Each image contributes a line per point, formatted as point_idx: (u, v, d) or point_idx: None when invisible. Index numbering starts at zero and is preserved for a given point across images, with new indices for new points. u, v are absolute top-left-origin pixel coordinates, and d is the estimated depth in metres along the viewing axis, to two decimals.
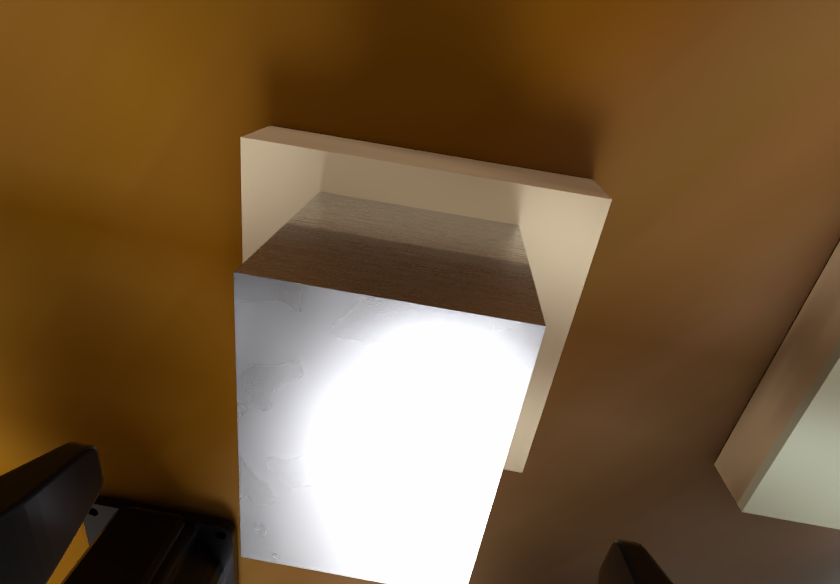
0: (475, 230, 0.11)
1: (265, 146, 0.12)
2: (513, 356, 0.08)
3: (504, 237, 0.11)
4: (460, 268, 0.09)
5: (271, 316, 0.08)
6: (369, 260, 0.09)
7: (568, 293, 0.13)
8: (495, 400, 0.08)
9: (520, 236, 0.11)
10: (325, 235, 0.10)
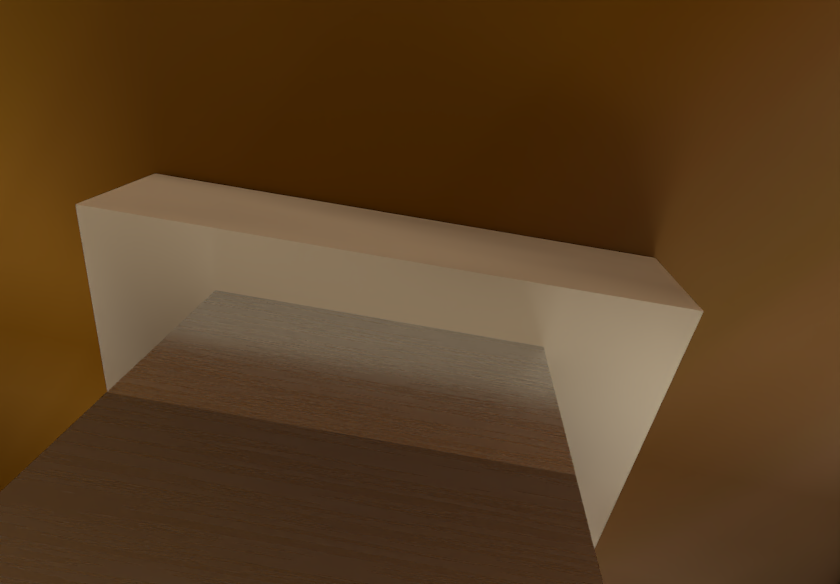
0: (471, 371, 0.07)
1: (118, 219, 0.07)
2: None
3: (522, 386, 0.06)
4: (439, 516, 0.04)
5: None
6: (241, 515, 0.04)
7: (621, 445, 0.08)
8: None
9: (549, 380, 0.07)
10: (173, 427, 0.05)
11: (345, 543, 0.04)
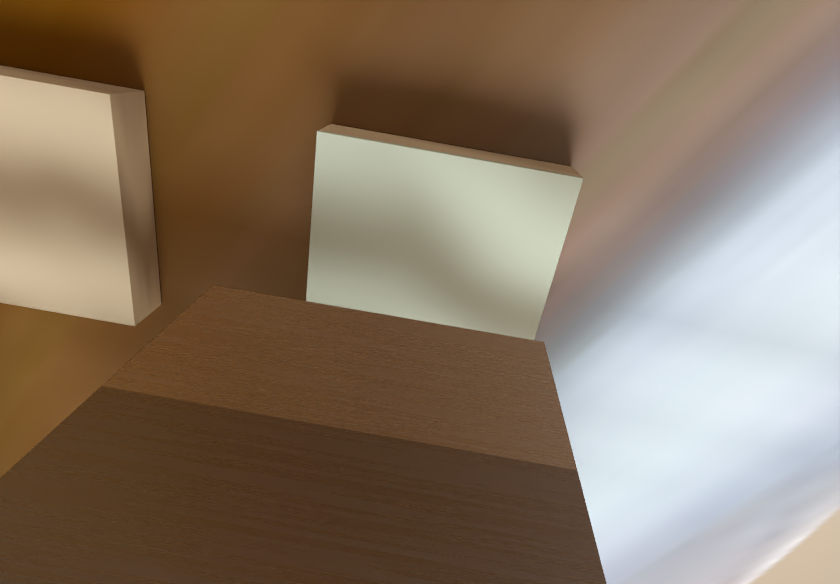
0: (471, 366, 0.06)
1: None
2: None
3: (523, 381, 0.06)
4: (438, 511, 0.04)
5: None
6: (237, 511, 0.04)
7: (109, 170, 0.18)
8: None
9: (550, 375, 0.07)
10: (170, 421, 0.05)
11: (343, 538, 0.04)
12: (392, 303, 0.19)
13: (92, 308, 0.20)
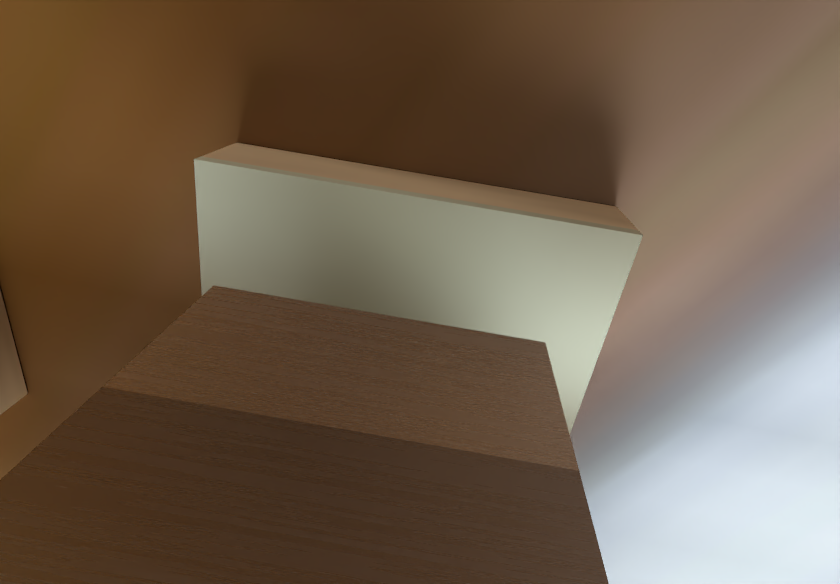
0: (473, 366, 0.06)
1: None
2: None
3: (524, 382, 0.06)
4: (440, 512, 0.04)
5: None
6: (239, 512, 0.04)
7: None
8: None
9: (551, 375, 0.07)
10: (171, 421, 0.05)
11: (345, 539, 0.04)
12: None
13: None
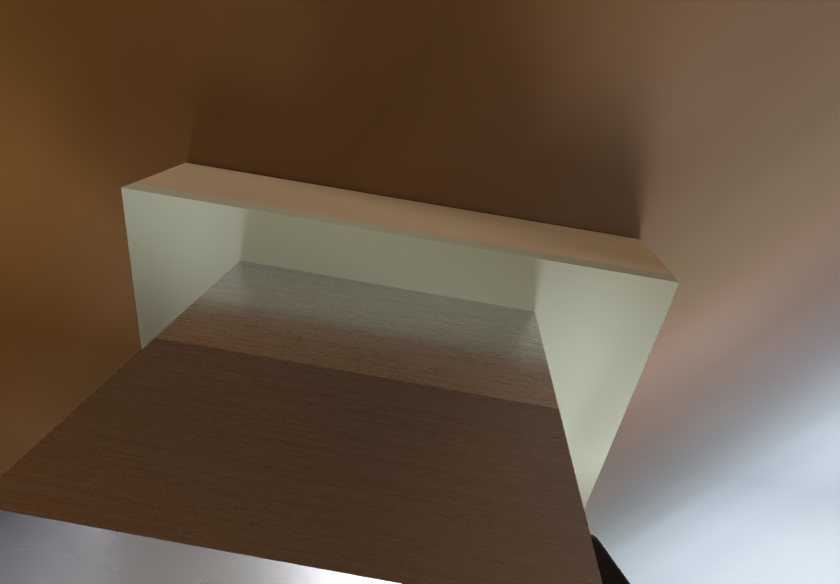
0: (470, 329, 0.07)
1: None
2: None
3: (515, 342, 0.07)
4: (442, 434, 0.05)
5: (65, 574, 0.04)
6: (277, 429, 0.05)
7: None
8: None
9: (539, 337, 0.07)
10: (215, 364, 0.06)
11: (364, 450, 0.05)
12: None
13: None
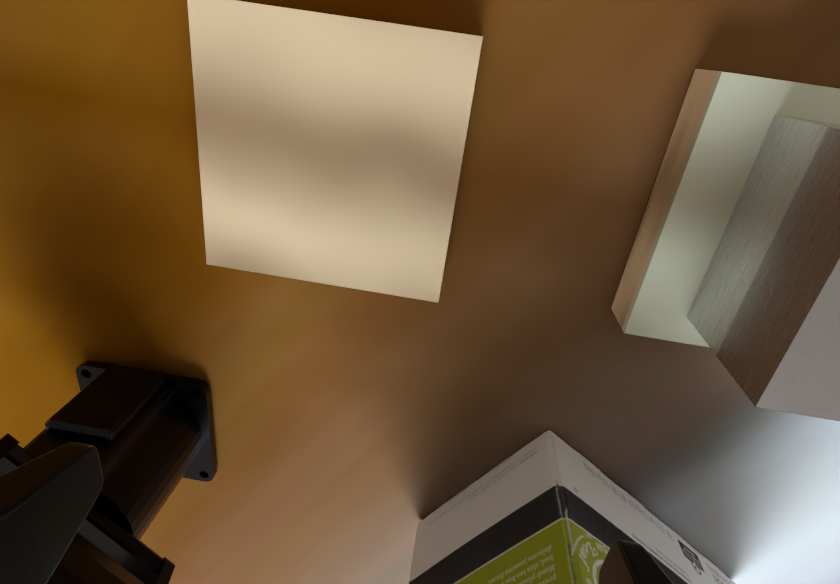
0: None
1: (207, 0, 0.15)
2: None
3: None
4: None
5: None
6: None
7: (458, 125, 0.16)
8: None
9: None
10: None
11: None
12: None
13: (395, 283, 0.19)
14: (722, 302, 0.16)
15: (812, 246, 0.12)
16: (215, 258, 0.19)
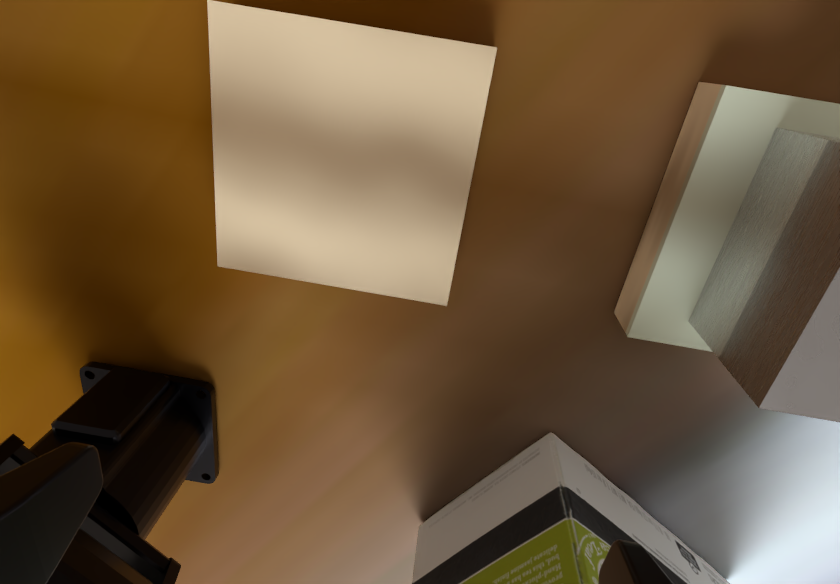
0: None
1: (227, 7, 0.15)
2: None
3: None
4: None
5: None
6: None
7: (470, 133, 0.16)
8: None
9: None
10: None
11: None
12: None
13: (404, 286, 0.19)
14: (724, 307, 0.16)
15: (814, 253, 0.13)
16: (226, 260, 0.19)
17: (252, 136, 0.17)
